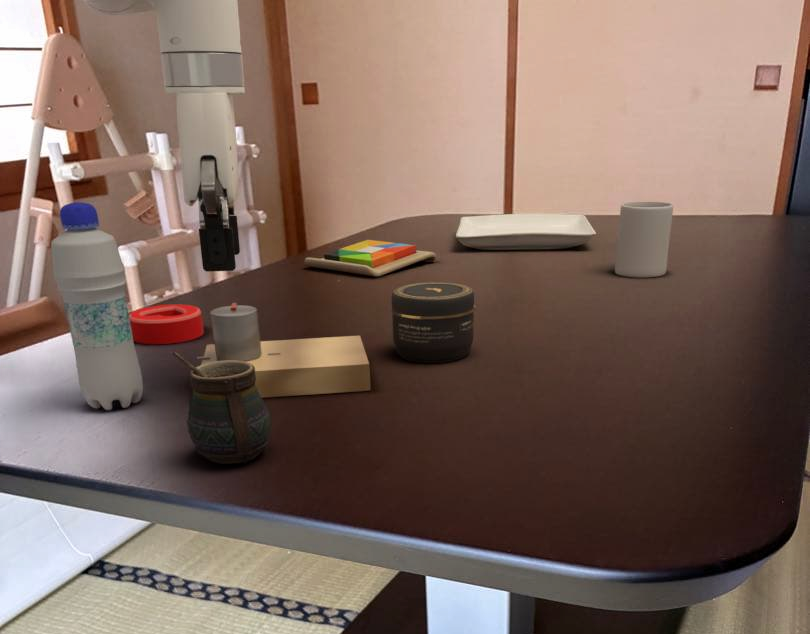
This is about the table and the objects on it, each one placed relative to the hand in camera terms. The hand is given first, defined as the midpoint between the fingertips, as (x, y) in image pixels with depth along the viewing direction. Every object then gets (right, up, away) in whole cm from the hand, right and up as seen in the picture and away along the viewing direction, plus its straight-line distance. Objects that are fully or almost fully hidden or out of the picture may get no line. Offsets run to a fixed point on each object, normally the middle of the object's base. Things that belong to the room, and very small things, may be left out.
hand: (222, 262), depth 88 cm
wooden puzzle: (+13, +22, +68) cm, 73 cm away
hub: (+1, -9, +5) cm, 10 cm away
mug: (+60, +17, +57) cm, 84 cm away
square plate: (+44, +34, +88) cm, 104 cm away
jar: (+23, -6, +15) cm, 28 cm away
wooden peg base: (+6, -11, +7) cm, 14 cm away
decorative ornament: (-13, -1, +26) cm, 29 cm away
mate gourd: (+4, -22, -13) cm, 26 cm away
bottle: (-12, -15, +1) cm, 19 cm away
